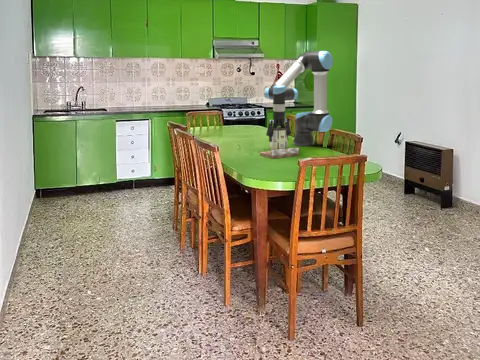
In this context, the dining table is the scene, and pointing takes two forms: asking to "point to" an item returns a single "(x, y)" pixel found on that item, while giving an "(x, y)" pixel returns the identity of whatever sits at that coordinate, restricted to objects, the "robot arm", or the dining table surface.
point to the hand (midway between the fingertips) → (278, 146)
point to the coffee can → (279, 138)
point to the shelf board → (281, 153)
